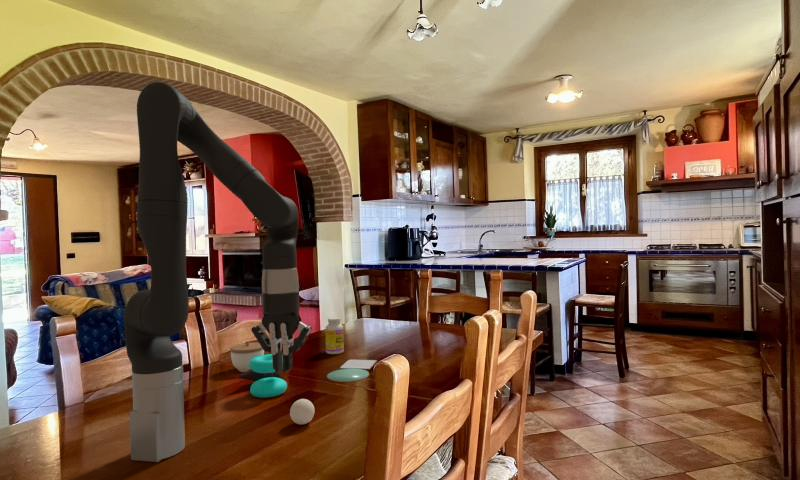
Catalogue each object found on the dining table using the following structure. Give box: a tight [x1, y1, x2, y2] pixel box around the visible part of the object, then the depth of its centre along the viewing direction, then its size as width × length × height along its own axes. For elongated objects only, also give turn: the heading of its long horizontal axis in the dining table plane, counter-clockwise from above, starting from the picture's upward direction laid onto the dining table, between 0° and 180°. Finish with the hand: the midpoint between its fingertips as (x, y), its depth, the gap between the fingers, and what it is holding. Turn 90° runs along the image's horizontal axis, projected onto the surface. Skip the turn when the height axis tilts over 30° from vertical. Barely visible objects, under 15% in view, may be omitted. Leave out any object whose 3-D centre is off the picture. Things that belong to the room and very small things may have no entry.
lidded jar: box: [230, 340, 265, 373], centre depth 153 cm, size 11×11×9 cm
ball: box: [289, 398, 316, 425], centre depth 107 cm, size 6×6×6 cm
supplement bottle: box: [324, 316, 345, 355], centre depth 173 cm, size 7×7×13 cm
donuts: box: [249, 353, 288, 399], centre depth 129 cm, size 10×10×10 cm
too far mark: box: [339, 359, 378, 370], centre depth 156 cm, size 10×10×1 cm
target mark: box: [326, 368, 370, 383], centre depth 144 cm, size 13×13×1 cm
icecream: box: [237, 369, 282, 382], centre depth 138 cm, size 7×7×15 cm
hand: (283, 371), depth 98 cm, fingers closed
